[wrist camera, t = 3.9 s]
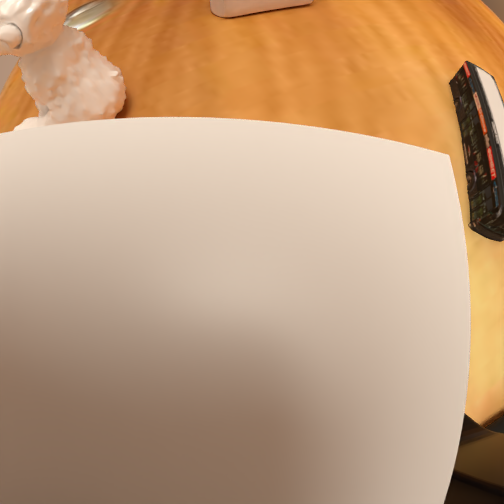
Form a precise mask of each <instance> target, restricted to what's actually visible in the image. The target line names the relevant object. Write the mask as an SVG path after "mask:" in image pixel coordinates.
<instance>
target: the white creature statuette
mask: <svg viewBox="0 0 504 504" xmlns="http://www.w3.org/2000/svg"><path fill="white" fill-rule="evenodd" d="M67 9H68V0H0V55H8V54H11V55H14V56H17V57H20V58H21V59H20V60H19V62H18V66H19V67H20V68H21V70H22V74H23V75H22V80H23V81H24V82H25V83H26V84H25V89H26V91H27V92H28V93H29V94H30V96H32V98H33V99H34V100H36V102H35V105H36V107H37V108H38V110H39V117H32V118H28V119H25V120H24V121H23V122H22V123H21V124H20V125H18V126H16V127H15V128H14V131H16V130H22V129H28V128H34V127H41V126H48V125H55V124H63V123H72V122H81V121H92V120H105V119H115V117H116V115H117V113H118V112H120V111H121V110H122V108H123V105H124V100H125V99H126V94H125V90H126V86H125V85H124V78H123V76H122V73H121V70H120V68H118V67H116V66H114V65H112V63H111V62H109V61H107V58H106V56H102V55H100V53H99V52H98V51H96V50H95V49H93V46H92V40H91V39H89V38H87V37H86V35H85V33H84V32H82V31H78V30H77V28H72V27H68V26H64V25H63V23H64V22H65V20H66V13H67Z"/></svg>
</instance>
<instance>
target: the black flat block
mask: <svg viewBox="0 0 504 504" xmlns="http://www.w3.org/2000/svg"><path fill="white" fill-rule="evenodd" d="M449 84H450V87H451V91H452V95H453V99H454V100H453V101H455V102H454V105H455V107H456V108H457V109H456V113H457V117H458V122H459V126H460V131H461V137H462V145H463V151H464V158H465V166H466V173H467V174H466V178H467V180H468V183H469V184H468V185H467V190H468V196H469V202H470V221H471V222H470V224H468V226H469V227H470V228H471V229H472V230H473V231H475V232H477V233H478V234H480V235H482V236H484V237H486V238H488V239H491V240H495V241H499V242H501V241H503V240H504V103H503V100H502V97H501V94H500V92H499V89H498V87H497V84H496V82H495V79H494V77H493V76H492V75H490V74H489V73H487V72H486V71H484V70H483V69H481V68H480V67H478V66H476V65H474V64H472V63H471V62H468V61H465V62H464V64H463V65H462V67H461V68H460V69H459V71H458V72H457V73H456V75H455V76H454V77H453V79H452V80H451V81H450V82H449Z"/></svg>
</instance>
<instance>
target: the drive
mask: <svg viewBox="0 0 504 504" xmlns="http://www.w3.org/2000/svg"><path fill="white" fill-rule="evenodd" d="M470 338H471V309H470V285H469V270H468V259H467V250H466V241H465V234H464V227H463V220H462V214H461V208H460V203H459V197H458V192H457V187H456V183H455V178H454V174H453V169H452V165H451V161H450V157H449V155H447V154H443V153H440V152H436V151H433V150H429V149H425V148H421V147H417V146H413V145H409V144H405V143H400V142H396V141H391V140H387V139H382V138H377V137H372V136H367V135H362V134H357V133H351V132H345V131H339V130H333V129H326V128H320V127H312V126H305V125H297V124H288V123H279V122H269V121H257V120H244V119H228V118H203V117H144V118H121V119H105V120H92V121H81V122H72V123H63V124H55V125H48V126H41V127H34V128H28V129H22V130H16V131H11V132H6V133H1V134H0V504H444V500H445V497H446V494H447V491H448V487H449V484H450V480H451V476H452V472H453V468H454V464H455V460H456V456H457V451H458V446H459V441H460V436H461V431H462V425H463V418H464V412H465V404H466V396H467V387H468V376H469V362H470Z"/></svg>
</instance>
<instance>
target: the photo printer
mask: <svg viewBox="0 0 504 504" xmlns="http://www.w3.org/2000/svg"><path fill="white" fill-rule="evenodd" d="M312 1H313V0H210V7H211V11H212V13H213V14H215V15H217V16H219V17H234V16H240V15H245V14H250V13H256V12H261V11H267V10H273V9H279V8H286V7H292V6H299V5H305V4H310V3H312Z"/></svg>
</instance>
